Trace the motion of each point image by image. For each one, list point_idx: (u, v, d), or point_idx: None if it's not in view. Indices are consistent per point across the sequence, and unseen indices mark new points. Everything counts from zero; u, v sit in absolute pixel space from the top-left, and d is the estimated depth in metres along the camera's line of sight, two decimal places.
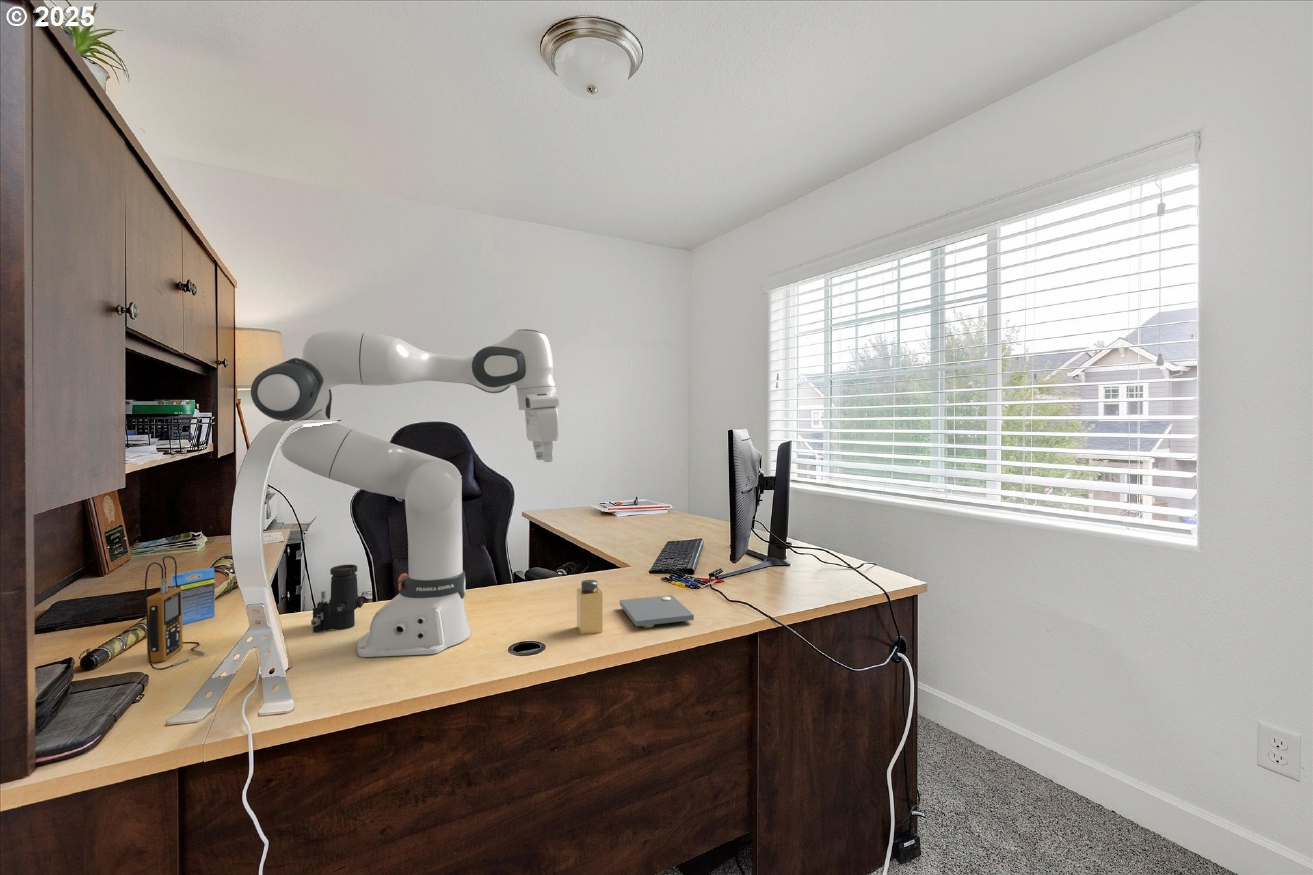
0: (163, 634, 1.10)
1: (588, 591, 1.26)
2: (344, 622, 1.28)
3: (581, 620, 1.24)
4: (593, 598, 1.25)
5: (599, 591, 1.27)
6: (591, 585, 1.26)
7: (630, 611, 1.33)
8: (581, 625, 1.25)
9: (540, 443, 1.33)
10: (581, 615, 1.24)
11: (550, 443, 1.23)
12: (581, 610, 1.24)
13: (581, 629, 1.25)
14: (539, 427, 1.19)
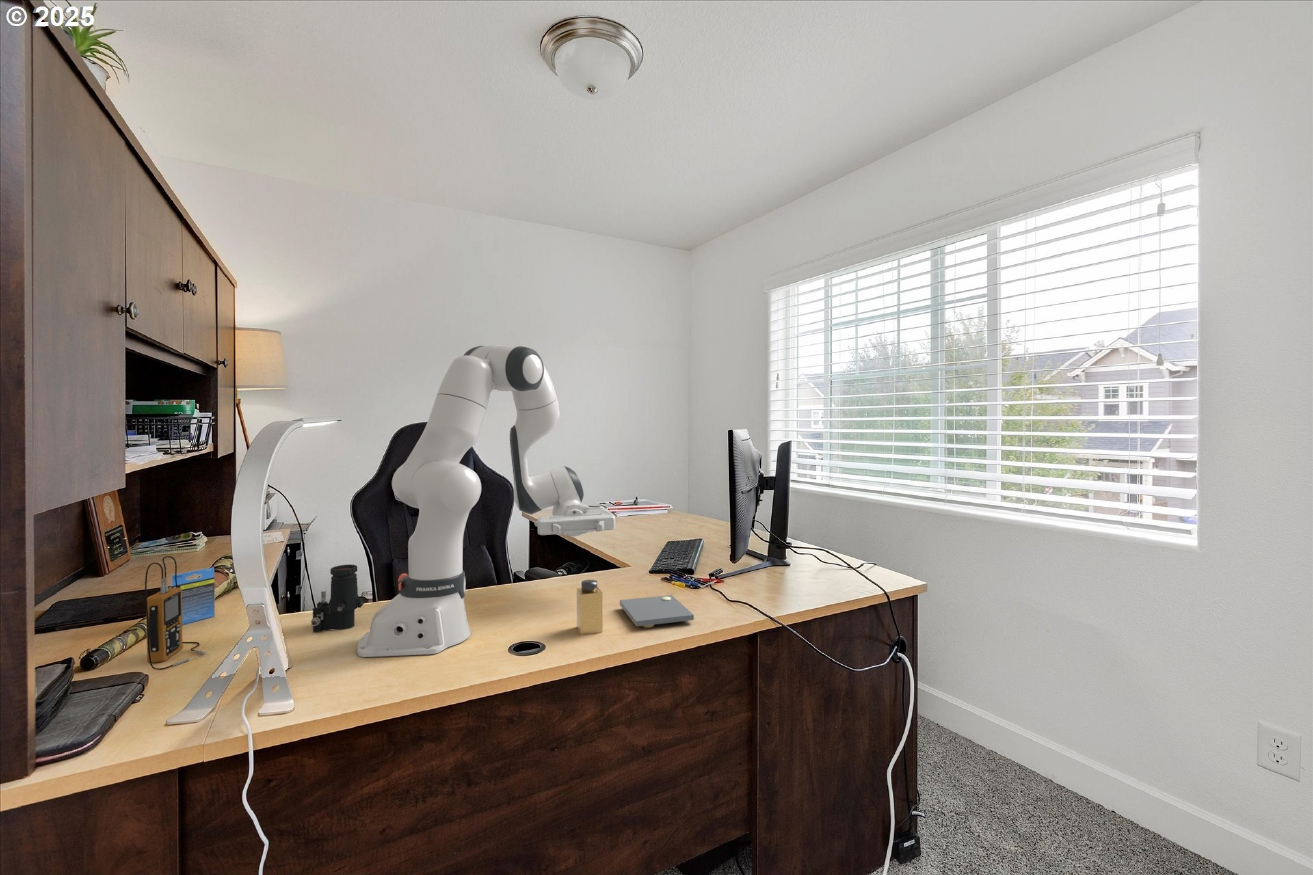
0: (163, 634, 1.10)
1: (588, 591, 1.26)
2: (344, 622, 1.28)
3: (581, 620, 1.24)
4: (593, 598, 1.25)
5: (599, 591, 1.27)
6: (591, 585, 1.26)
7: (630, 611, 1.33)
8: (581, 625, 1.25)
9: None
10: (581, 615, 1.24)
11: (603, 526, 1.45)
12: (581, 610, 1.24)
13: (581, 629, 1.25)
14: None
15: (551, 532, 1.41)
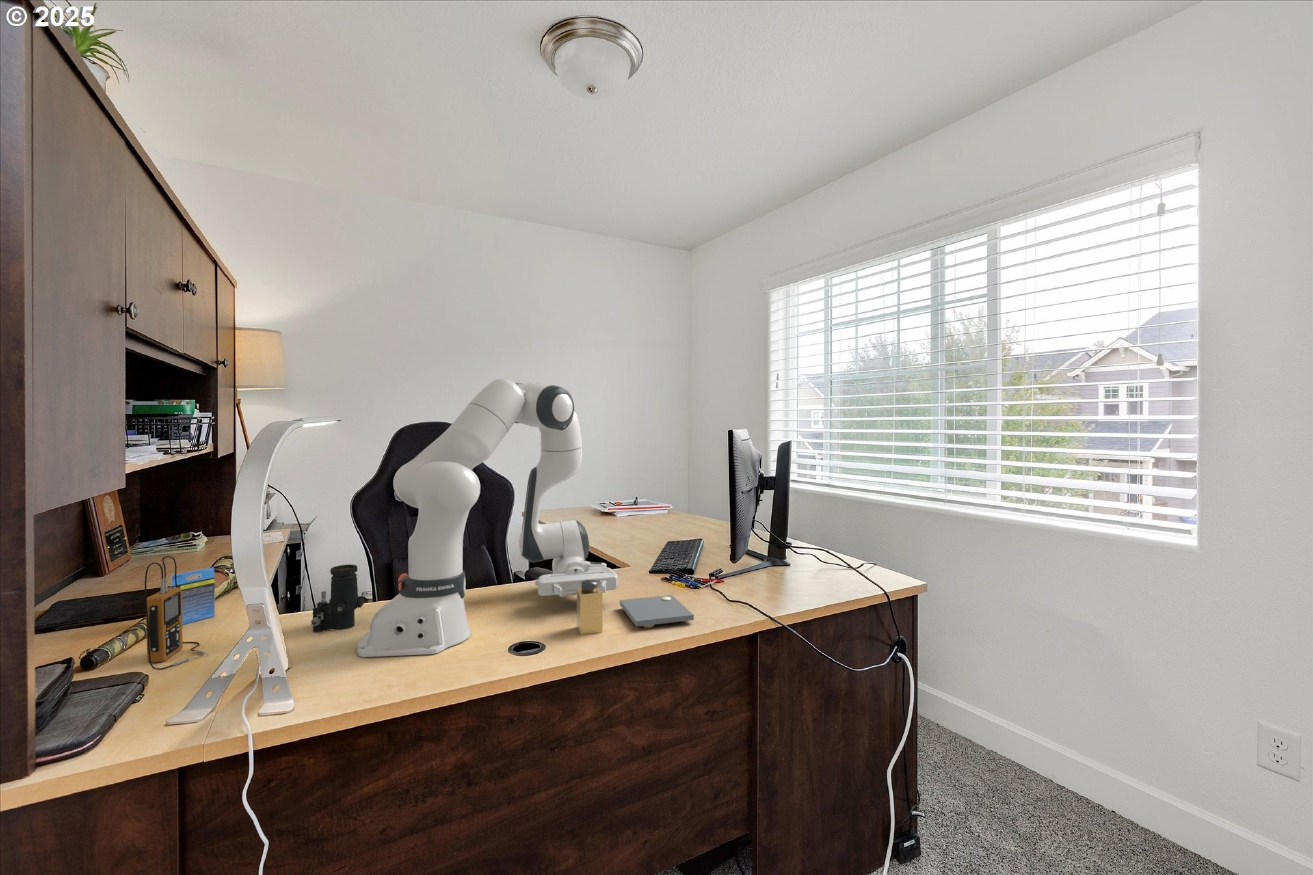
0: (163, 634, 1.10)
1: (588, 591, 1.26)
2: (344, 622, 1.28)
3: (581, 620, 1.24)
4: (593, 598, 1.25)
5: (599, 591, 1.27)
6: (591, 585, 1.26)
7: (630, 611, 1.33)
8: (581, 625, 1.25)
9: None
10: (581, 615, 1.24)
11: (605, 587, 1.41)
12: (581, 610, 1.24)
13: (581, 629, 1.25)
14: (614, 572, 1.46)
15: (552, 593, 1.37)
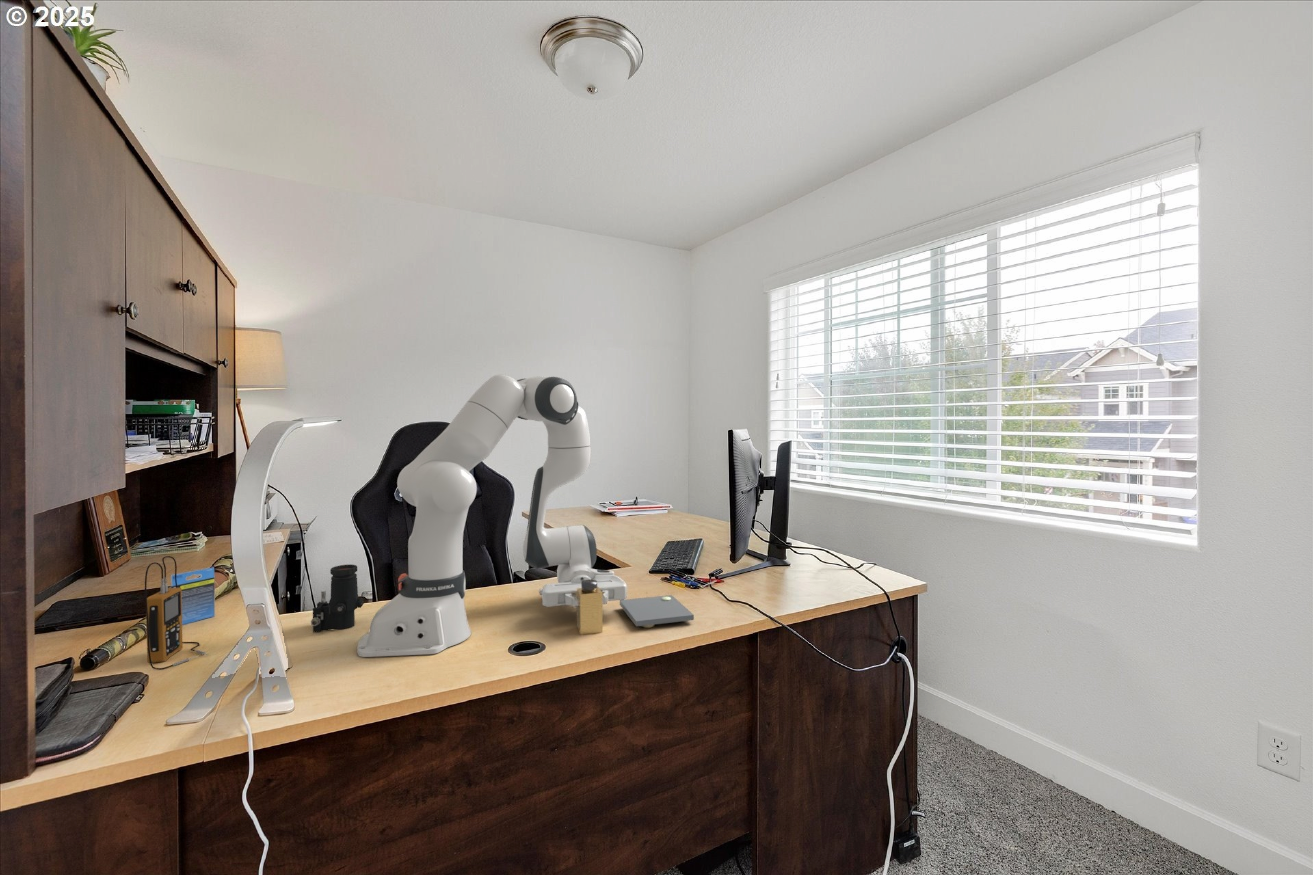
0: (163, 634, 1.10)
1: (588, 591, 1.26)
2: (344, 622, 1.28)
3: (581, 620, 1.24)
4: (593, 598, 1.25)
5: (599, 591, 1.27)
6: (591, 585, 1.26)
7: (630, 611, 1.33)
8: (581, 625, 1.25)
9: None
10: (581, 615, 1.24)
11: None
12: (581, 610, 1.24)
13: (581, 629, 1.25)
14: None
15: (557, 604, 1.29)
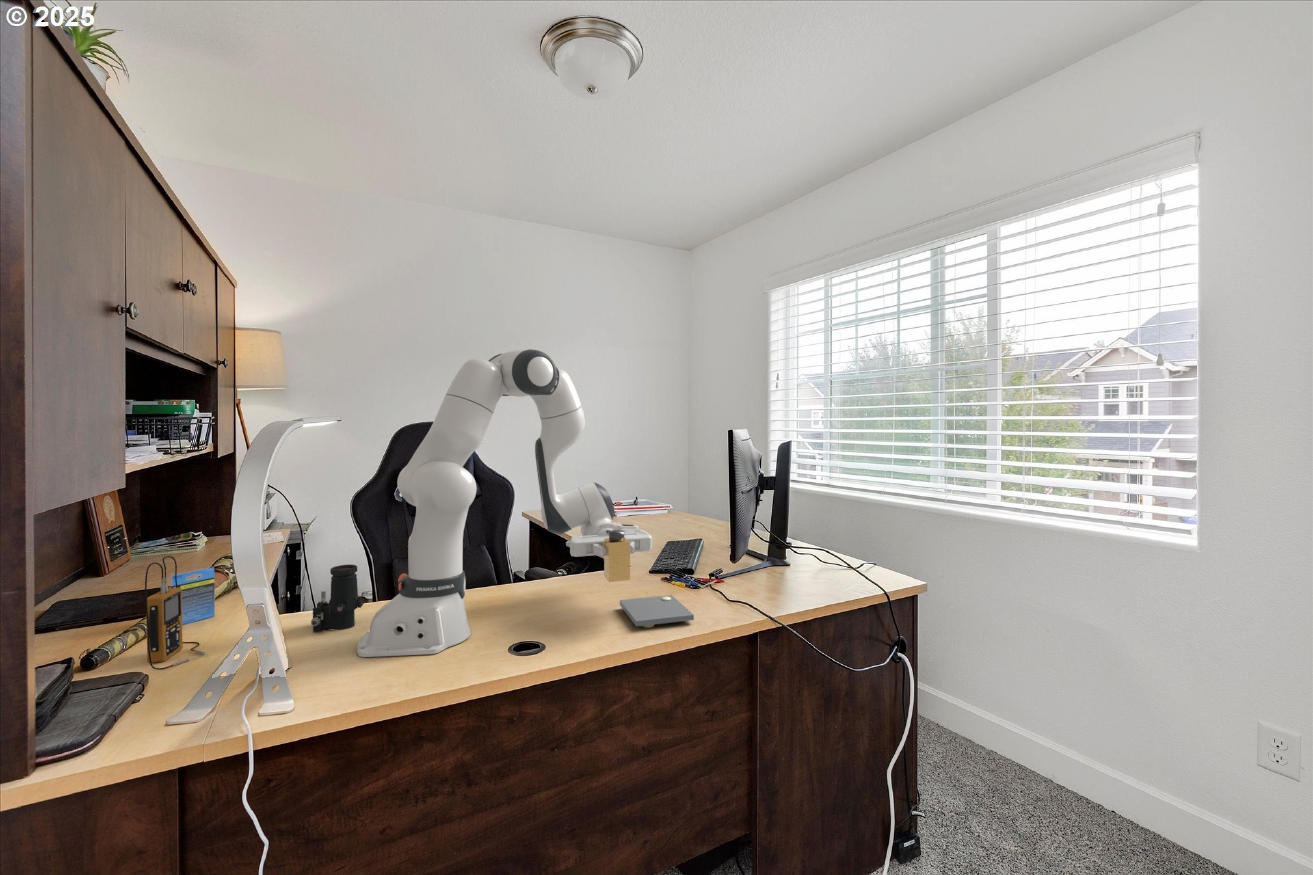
0: (163, 634, 1.10)
1: (616, 540, 1.29)
2: (344, 622, 1.28)
3: (609, 568, 1.28)
4: (620, 546, 1.29)
5: (626, 540, 1.30)
6: (619, 534, 1.29)
7: (630, 611, 1.33)
8: (609, 572, 1.28)
9: None
10: (609, 563, 1.28)
11: (634, 548, 1.36)
12: (609, 558, 1.28)
13: (609, 576, 1.28)
14: (647, 533, 1.41)
15: (585, 553, 1.33)
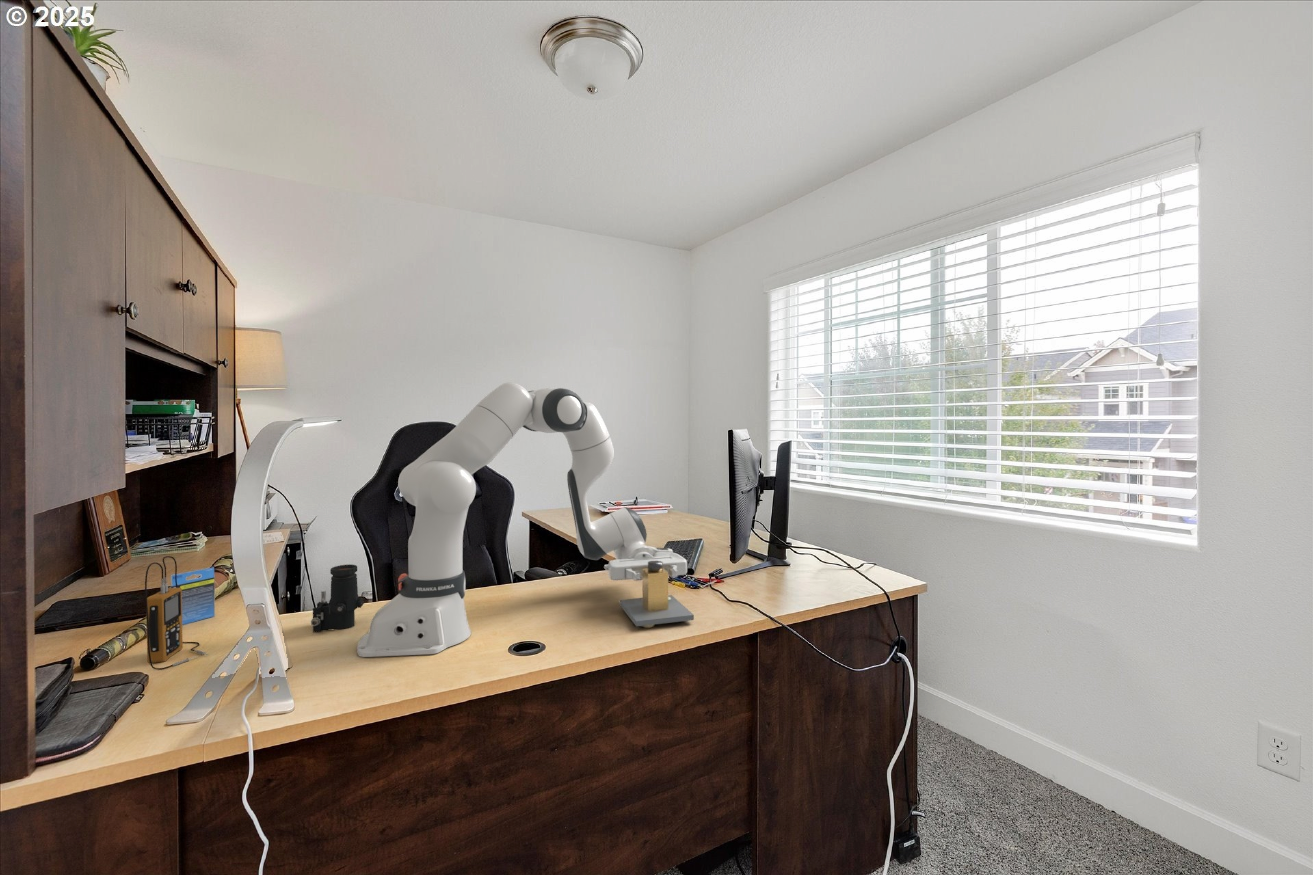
0: (163, 634, 1.10)
1: (655, 571, 1.35)
2: (344, 622, 1.28)
3: (649, 598, 1.33)
4: (659, 577, 1.34)
5: (664, 571, 1.36)
6: (658, 565, 1.35)
7: (630, 611, 1.33)
8: (649, 602, 1.33)
9: None
10: (649, 593, 1.33)
11: None
12: (649, 588, 1.33)
13: (649, 606, 1.33)
14: (682, 557, 1.46)
15: (624, 577, 1.38)
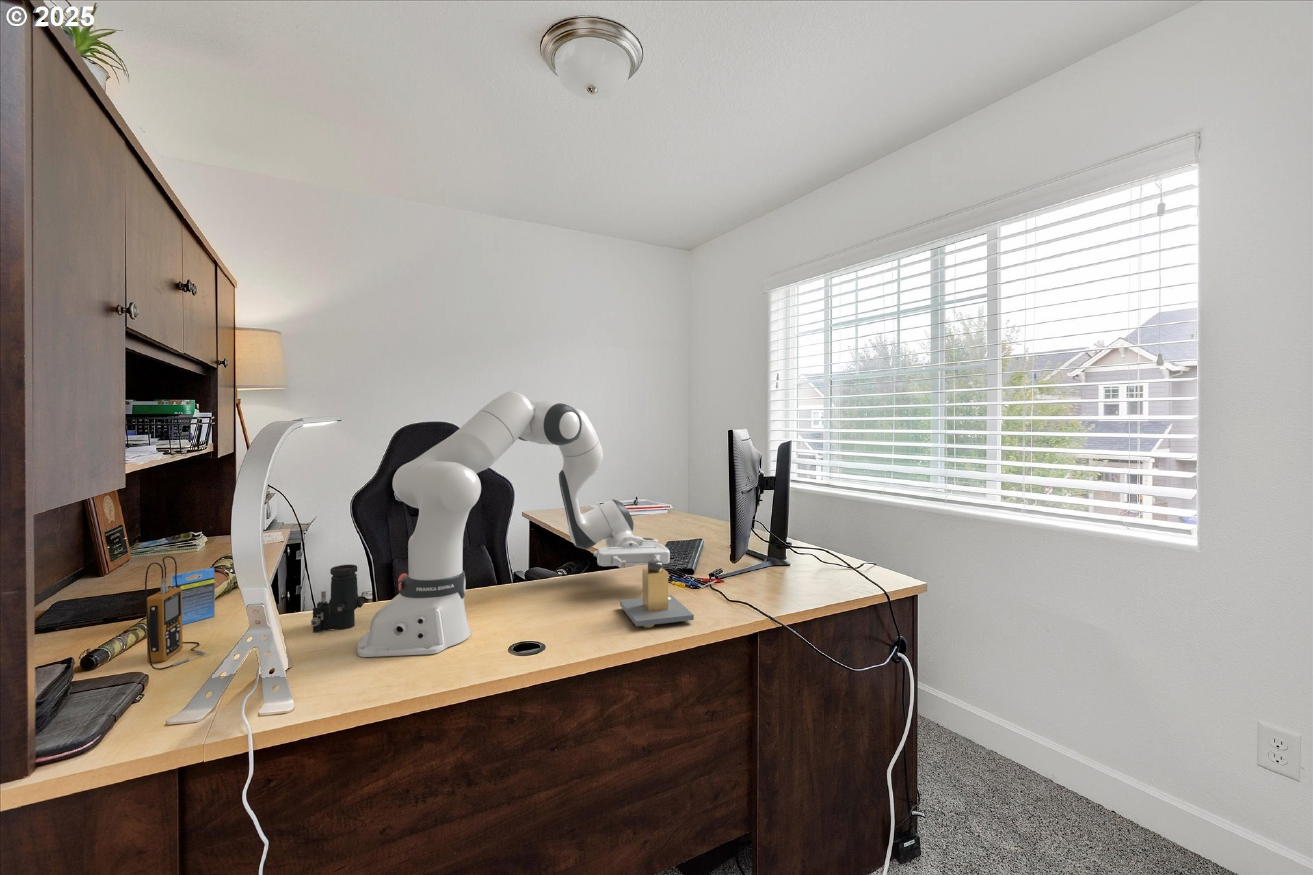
0: (163, 634, 1.10)
1: (655, 571, 1.35)
2: (344, 622, 1.28)
3: (649, 598, 1.33)
4: (659, 577, 1.34)
5: (664, 571, 1.36)
6: (658, 565, 1.35)
7: (630, 611, 1.33)
8: (649, 602, 1.33)
9: None
10: (649, 593, 1.33)
11: None
12: (649, 588, 1.33)
13: (649, 606, 1.33)
14: None
15: (611, 564, 1.50)
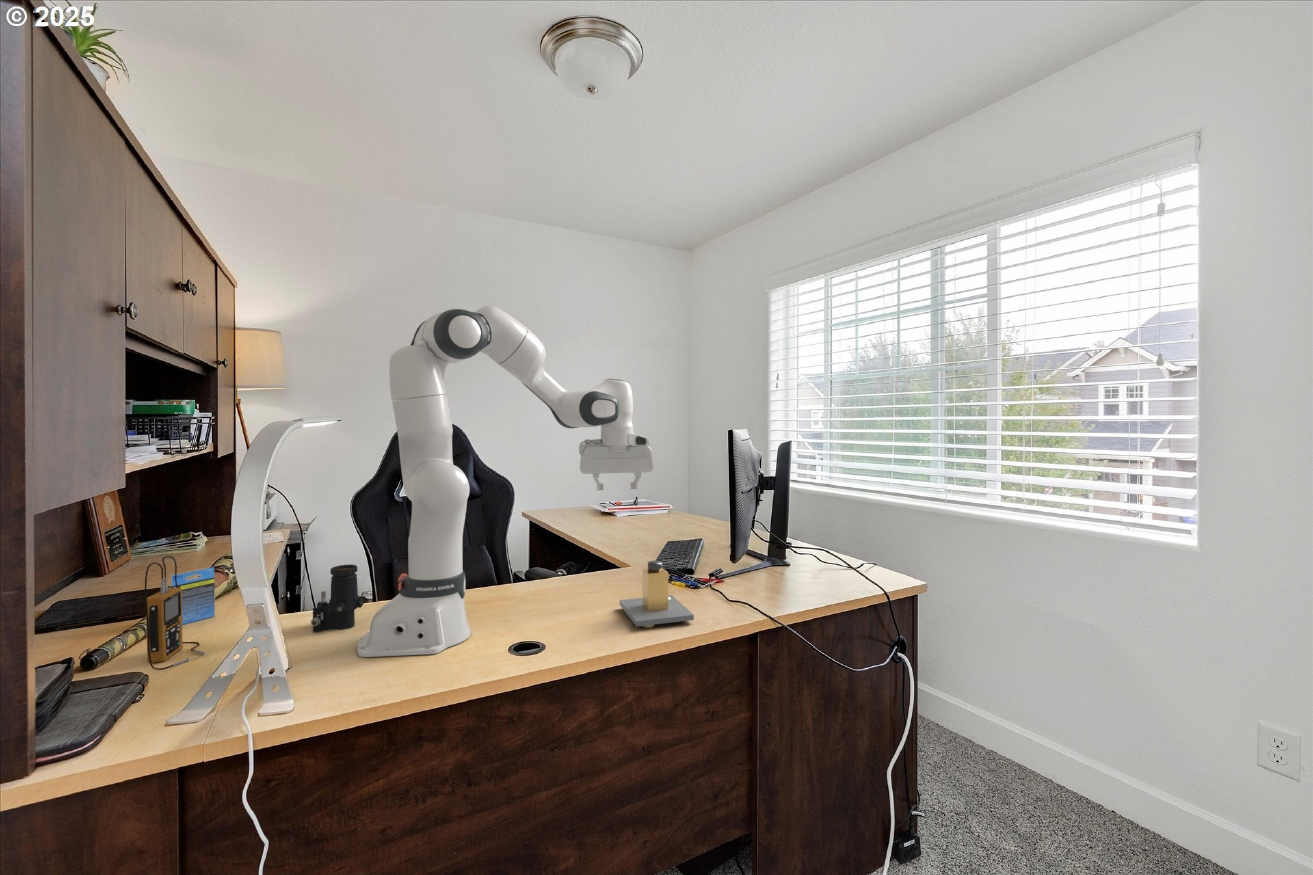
0: (163, 634, 1.10)
1: (655, 571, 1.35)
2: (344, 622, 1.28)
3: (649, 598, 1.33)
4: (659, 577, 1.34)
5: (664, 571, 1.36)
6: (658, 565, 1.35)
7: (630, 611, 1.33)
8: (649, 602, 1.33)
9: None
10: (649, 593, 1.33)
11: None
12: (649, 588, 1.33)
13: (649, 606, 1.33)
14: (653, 460, 1.53)
15: None
